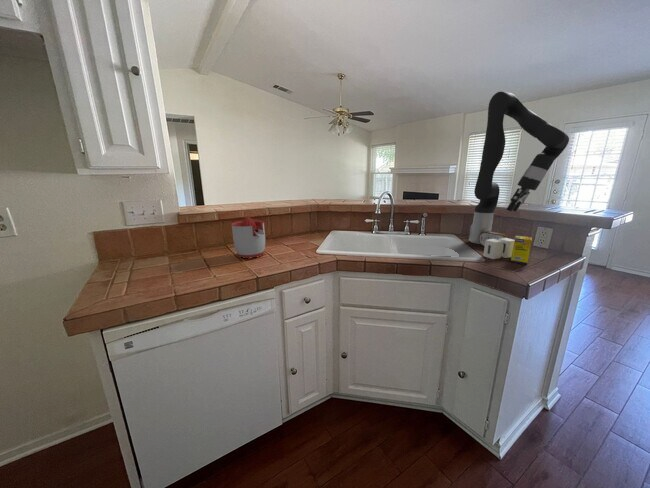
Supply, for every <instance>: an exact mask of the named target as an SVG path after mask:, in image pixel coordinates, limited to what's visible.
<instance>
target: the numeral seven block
mask: <svg viewBox="0 0 650 488" xmlns="http://www.w3.org/2000/svg"><path fill="white" fill-rule="evenodd" d="M498 240H500V241H504V242H503V248H502V254H501V258H505V259H507V258H511V256H512V251H513V246H514V241H515V239H514V238H513V239H512V238H510V239H509V238H501V239H498Z"/></svg>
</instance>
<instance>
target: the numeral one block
mask: <svg viewBox="0 0 650 488" xmlns="http://www.w3.org/2000/svg"><path fill="white" fill-rule="evenodd" d="M503 242H504V241H500V240H496V239H488V240H486V241H485V246H483V247H484V249H483V253H482V254H483V255H482V257H485V258H488V259H491V260H495V259H496V260H497V259H500V258H502V257H501V254H502V248H503Z"/></svg>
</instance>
